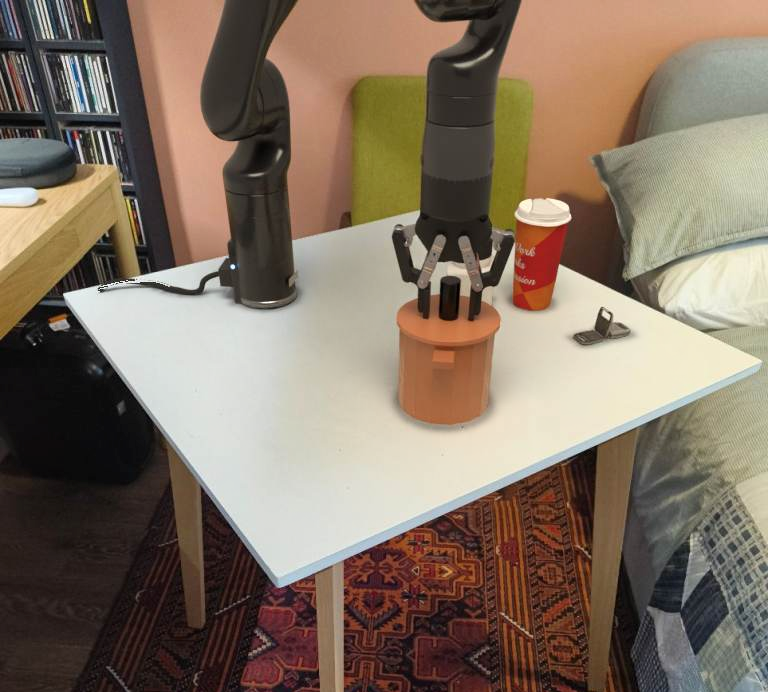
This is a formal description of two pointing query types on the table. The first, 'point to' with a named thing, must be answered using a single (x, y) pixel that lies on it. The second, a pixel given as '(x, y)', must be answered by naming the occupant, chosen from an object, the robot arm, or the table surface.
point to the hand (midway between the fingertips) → (448, 315)
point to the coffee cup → (538, 251)
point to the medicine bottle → (461, 273)
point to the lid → (448, 318)
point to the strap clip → (603, 329)
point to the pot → (444, 380)
